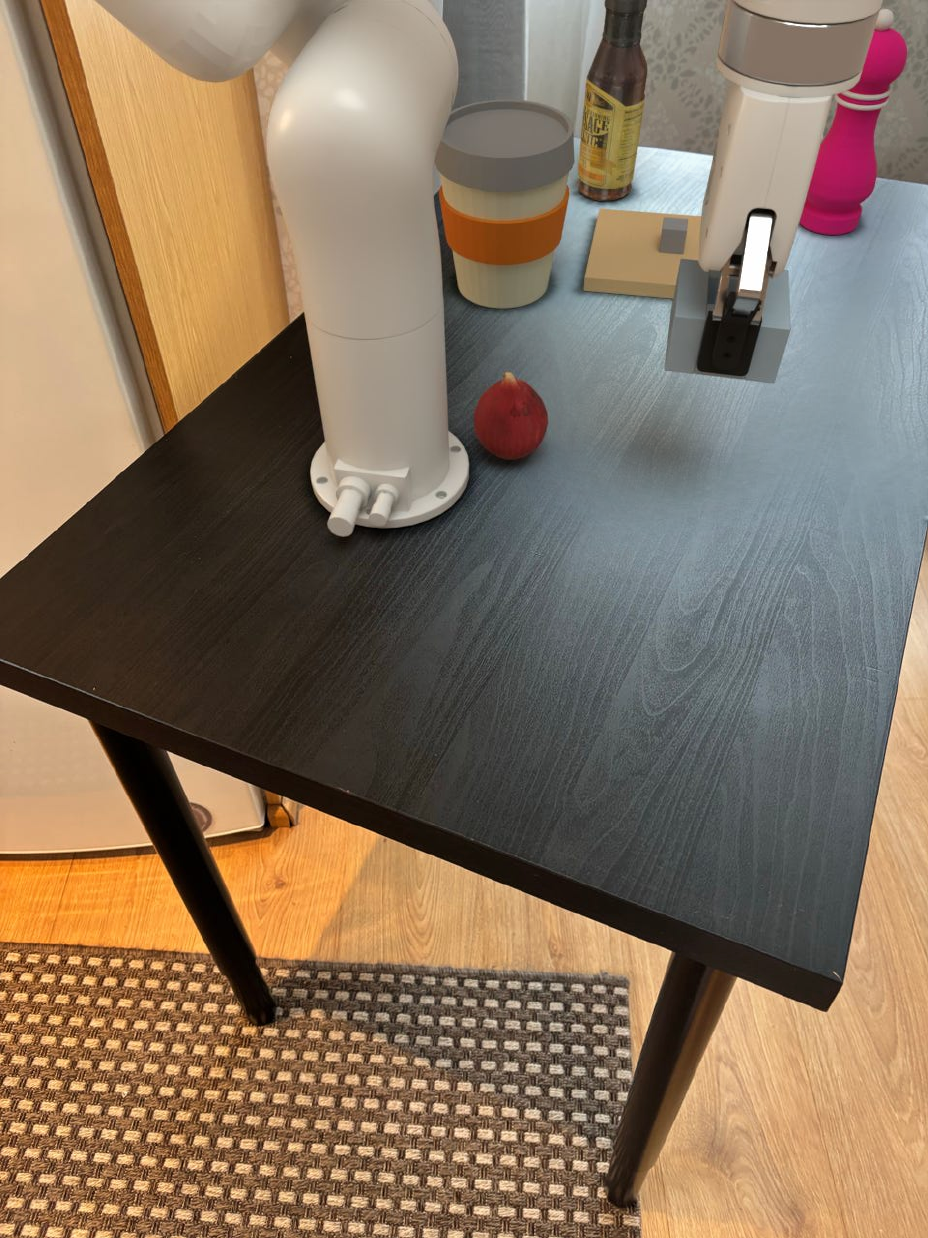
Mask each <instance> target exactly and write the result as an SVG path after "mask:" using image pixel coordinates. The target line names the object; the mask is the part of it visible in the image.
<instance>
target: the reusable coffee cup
mask: <svg viewBox="0 0 928 1238" xmlns="http://www.w3.org/2000/svg"><path fill="white" fill-rule="evenodd" d="M575 163H576V162H575V137H574V124H573V122H572V120H571V118H570V117H569V116H567V115H566V113H564V112H563V111H561V110H560V109H557V108H555V107H553V106H550V105H547V104H544V103H541V102H537V101H530V100H523V99H490V100H482V101H477V102H476V101H475V102H472V103H469V104H465V105H462V106H459V107H457V108H454V109H452V110H451V114H450V116H449V119H448V121H447V124H446V126H445V129H444V133H443V136H442V139H441V142H440V144H439V147H438V150H437V153H436V157H435V163H434V166H435V167H436V170H437V172H439V176H440V182H441V183H440V184H441V185H440V187H439V192H438V197H439V203H440V204H439V205H440V210H441V217H442V222H443V228H444V235H445V239H446V242H447V246H449V248H450V250H451V251H452V255H453V262H454V268H455V274H456V280H457V287H458V290H459V292H460V293H461V296H463V297H464V298H465V299H466V300H468V301H470V302H471V303H473V304H475V305H478V306H482V307H486V308H490V309H491V308H492V309H514V308H515V309H516V308H520V307H524V306H527V305H530V304H532V303H534V302H536V301H538V300H539V299H540V298H542V297H543V296H544V295H545V293H546V292H547V290H548V287H549V282H550V277H551V271H552V266H553V260H554V255H555V251H556V250H557V247H558V246H559V245H560V242H561V240H562V235H563V232H564V231H563V230H564V226H565V222H566V221H565V220H566V215H567V210H568V205H569V199H570V188H569V185H568V181H569V175H570V172H571V171H572V169H573V167H574V165H575Z"/></svg>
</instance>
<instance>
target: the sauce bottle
mask: <svg viewBox="0 0 928 1238" xmlns="http://www.w3.org/2000/svg"><path fill="white" fill-rule="evenodd" d="M647 6H648V0H604V8H605V15H604V16H605V17H604V25H603V32H602V35H601V37H602V38H601V41H600V43H599V46H598V48H597V50H596V53H595V55H594V58H593V60H592V63H591V65H590V68H589V69H588V71H587V72H588V73H587V75H586V80H585V90H584V100H583V111H582V120H581V129H580V143H579V153H578V163H577V177H578V178H577V184H578V190H579V192H580V193H581V194H582V195H584V196H586V197H587V198H590V199H592V200H594V201H597V202H603V201H614V200H615V201H616V200H619V199H622V198H624V197H626V196H627V195H628V194H629V193H630V191H631V189H632V185H633V184H632V182H633V181H634V177H635V170H636V162H637V155H638V149H639V141H640V134H641V127H642V120H643V112H644V107H645V106H644V105H645V99H646V94H645V93H646V90H645V89H646V84H647V79H648V78H647V77H648V63H647V59H646V55H644V52H643V49H642V47H641V41H642V40H641V39H642V35H643V34H642V27H643V21H644V13H645V10H646V8H647Z"/></svg>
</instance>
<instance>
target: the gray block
mask: <svg viewBox="0 0 928 1238" xmlns="http://www.w3.org/2000/svg"><path fill="white" fill-rule="evenodd" d="M730 265H734V264H730ZM738 266H741V265H738ZM789 276H790V274H789V270H788V269H784V271H783V272H782V273H781V274H780V275H779V276H777V277H775V278H773V279H771V277H769V281H768V286H767V291H766V296H765V301H764V306H763V311H762V316H761V317H762V324H761V327H760V331H759V335H758V338H757V342H756V346H755V349H754V353H753V357H752V360H751V364H750V368H749V371H748V374H747V375H745V376H732V375H724V374H716V373H707V372H700V371H699V370H698V369H697V360H698V355H699V351H700V346H701V342H702V337H703V333H704V328H705V324H706V319H707V315H708V311H713V309H714V304H715V298H716V293H717V288H718V282H719V277H720V271H715V270H709V272H705V271H704V270H703V269H702V268H701V267H700V265H699V263H698V260H690V259H680V264H679V270H678V275H677V280H676V285H675V291H674V296H673V299H672V301H671V307H670V313H669V320H668V321H669V323H668V331H667V341H666V349H665V350H666V352H665V357H664V358H665V360H664V369H663V370H664V371H666V372H673V373H681V374H689V375H694V374H695V375H701V376H708V377H717V378H725V379H734V380H743V381H748V382H756V383H757V382H758V383H765V384H772V385H774V384H775V383H776V380H777V377H778V373H779V370H780V366H781V363H782V360H783V357H784V353H785V350H786V348H787V347H786V346H787V344H788V340H789V337H790V334H791V330H792V327H791V324H792V323H791V301H790V277H789ZM738 278H739V277H734V276H730V280H729V285H728V290H727V297H728V294H729V293H730V291H733V292H735V289H736V286H737V283H738Z"/></svg>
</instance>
